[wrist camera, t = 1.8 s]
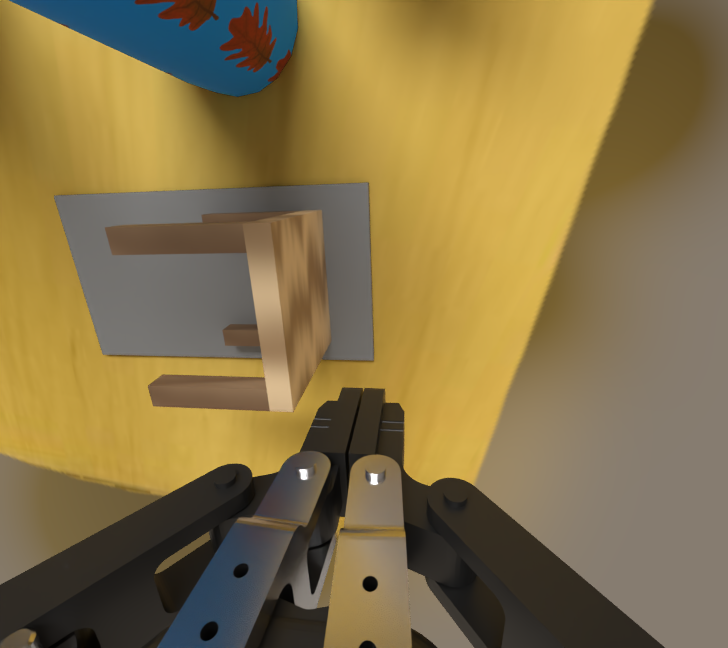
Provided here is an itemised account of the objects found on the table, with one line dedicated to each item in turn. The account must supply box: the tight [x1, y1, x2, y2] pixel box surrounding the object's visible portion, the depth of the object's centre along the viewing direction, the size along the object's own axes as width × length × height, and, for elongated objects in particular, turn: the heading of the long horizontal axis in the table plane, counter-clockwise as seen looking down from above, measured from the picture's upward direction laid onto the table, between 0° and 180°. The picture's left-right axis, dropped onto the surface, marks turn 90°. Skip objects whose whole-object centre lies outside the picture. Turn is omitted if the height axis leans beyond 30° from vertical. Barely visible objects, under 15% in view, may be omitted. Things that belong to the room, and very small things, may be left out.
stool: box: [105, 210, 331, 412], centre depth 28 cm, size 12×10×12 cm
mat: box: [54, 183, 374, 361], centre depth 35 cm, size 16×29×1 cm, turn 92°
